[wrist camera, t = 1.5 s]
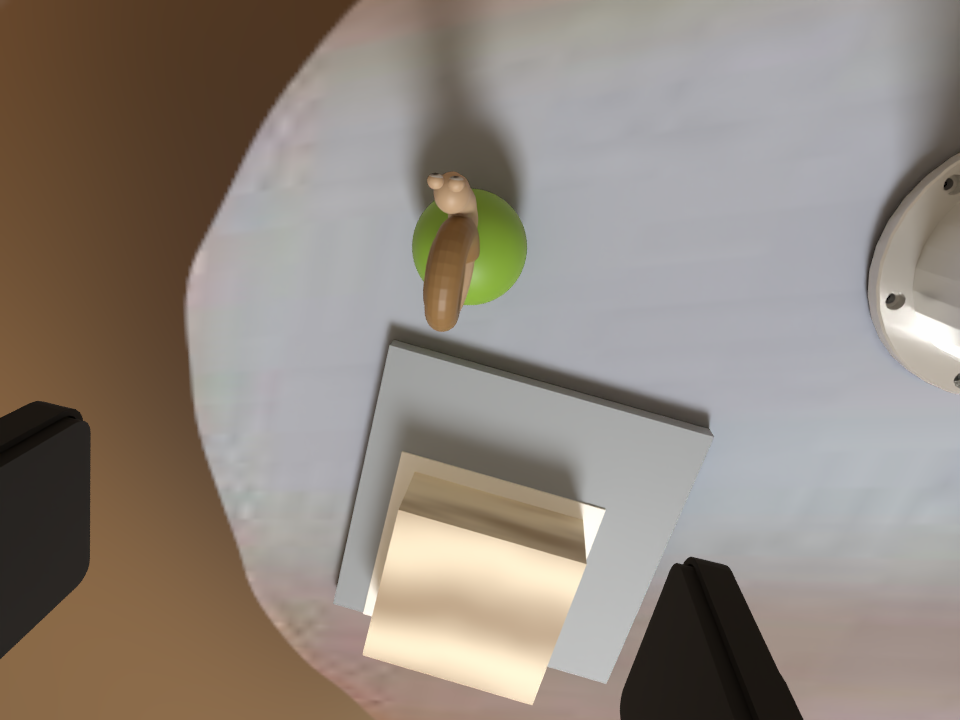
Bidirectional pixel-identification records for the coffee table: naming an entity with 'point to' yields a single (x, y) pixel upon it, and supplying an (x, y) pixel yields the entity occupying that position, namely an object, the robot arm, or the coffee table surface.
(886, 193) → the coffee table surface
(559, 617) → the pedestal block
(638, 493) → the board
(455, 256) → the snail figurine
